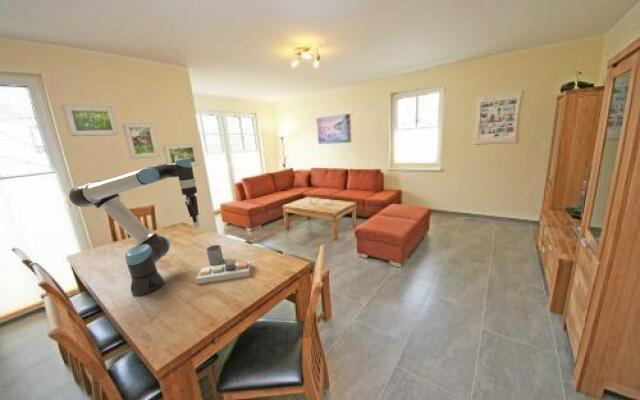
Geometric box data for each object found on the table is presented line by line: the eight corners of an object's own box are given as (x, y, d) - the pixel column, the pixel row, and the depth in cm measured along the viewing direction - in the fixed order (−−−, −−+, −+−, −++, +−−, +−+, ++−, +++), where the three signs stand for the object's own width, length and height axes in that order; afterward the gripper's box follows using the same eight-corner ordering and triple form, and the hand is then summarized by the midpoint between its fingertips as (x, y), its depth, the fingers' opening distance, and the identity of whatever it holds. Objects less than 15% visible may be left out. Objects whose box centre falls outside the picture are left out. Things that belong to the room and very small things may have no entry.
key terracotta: (239, 272, 144) (238, 266, 143) (240, 268, 148) (239, 262, 147) (247, 271, 145) (246, 265, 144) (248, 267, 149) (247, 261, 148)
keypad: (197, 284, 137) (196, 278, 136) (203, 273, 149) (202, 267, 148) (249, 276, 142) (248, 270, 141) (251, 265, 153) (250, 260, 152)
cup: (218, 265, 156) (215, 251, 154) (206, 265, 158) (203, 250, 155) (225, 259, 164) (223, 245, 161) (214, 258, 166) (211, 244, 163)
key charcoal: (226, 272, 142) (225, 265, 141) (227, 267, 147) (226, 261, 146) (234, 270, 143) (233, 264, 142) (236, 266, 148) (235, 260, 147)
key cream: (200, 278, 141) (199, 272, 140) (203, 274, 145) (201, 268, 144) (209, 277, 141) (208, 270, 140) (211, 272, 146) (210, 266, 145)
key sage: (213, 276, 142) (212, 270, 141) (215, 272, 146) (214, 266, 145) (222, 275, 142) (221, 269, 141) (224, 271, 147) (223, 264, 146)
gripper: (192, 188, 133) (200, 229, 139) (198, 183, 145) (206, 222, 151) (176, 189, 131) (186, 231, 138) (185, 185, 144) (193, 223, 150)
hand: (197, 226), depth 144 cm, fingers closed
